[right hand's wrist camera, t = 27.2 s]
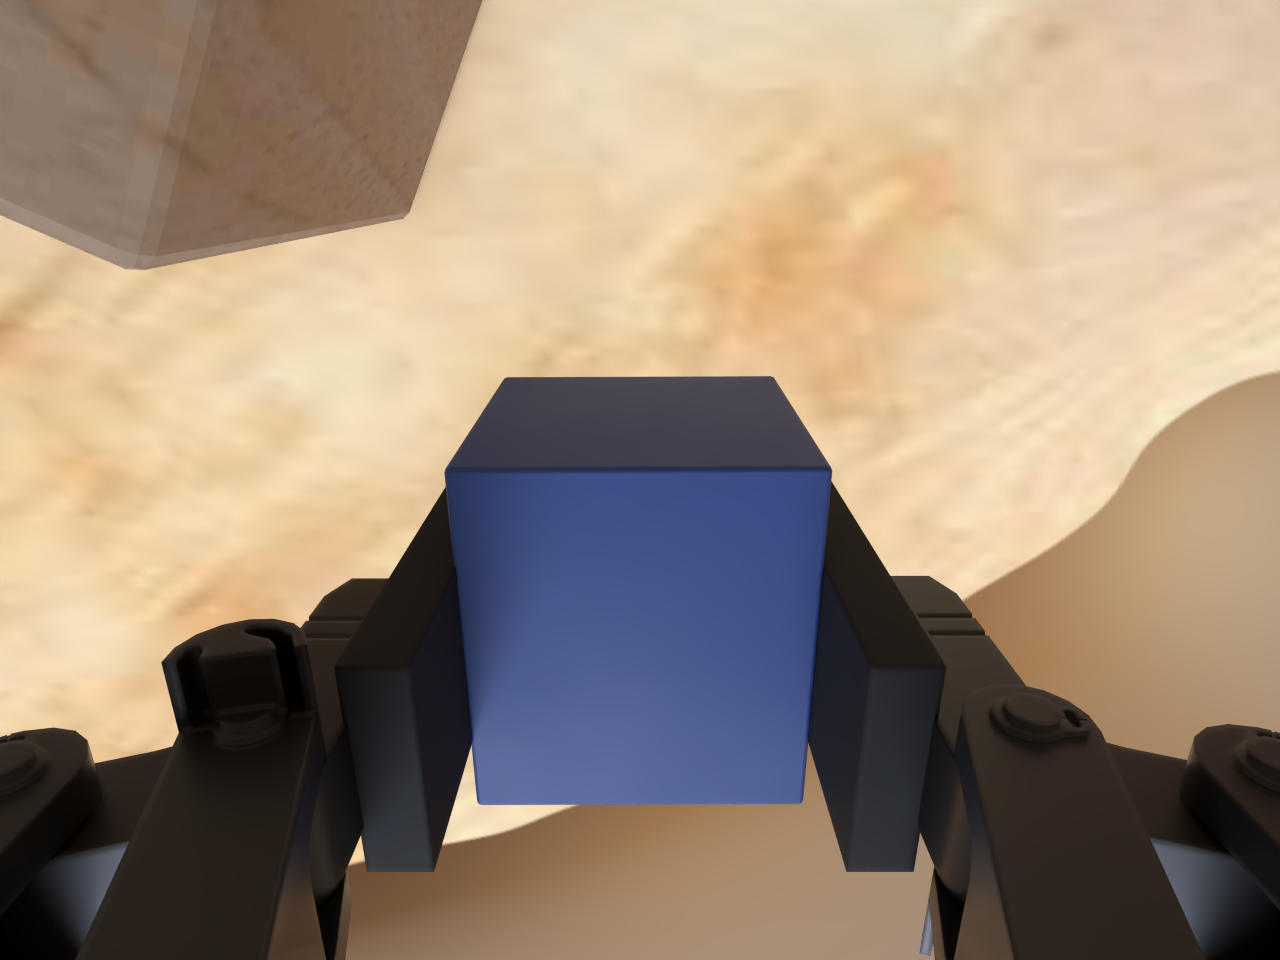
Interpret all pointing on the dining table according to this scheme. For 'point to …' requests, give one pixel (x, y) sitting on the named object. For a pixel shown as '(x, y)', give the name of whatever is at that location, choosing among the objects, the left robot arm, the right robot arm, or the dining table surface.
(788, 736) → the blue cube
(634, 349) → the dining table surface
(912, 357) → the dining table surface
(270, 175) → the wooden block
